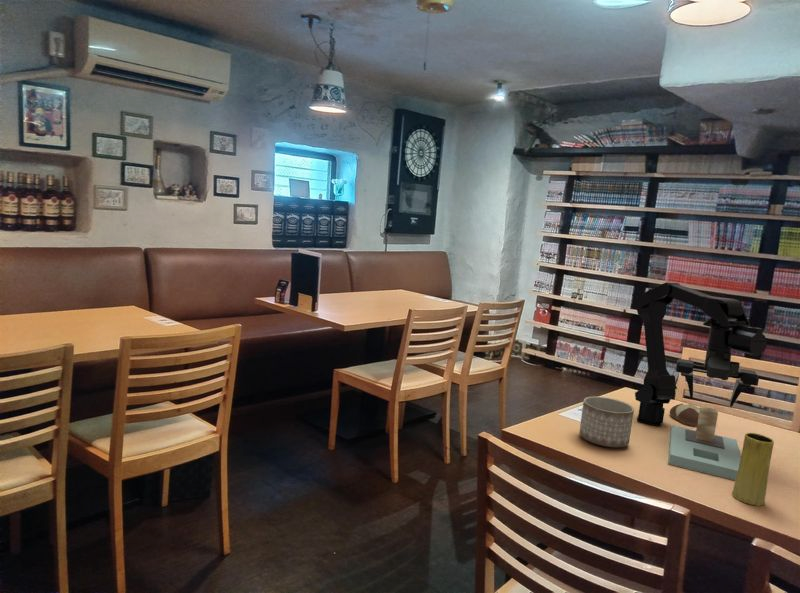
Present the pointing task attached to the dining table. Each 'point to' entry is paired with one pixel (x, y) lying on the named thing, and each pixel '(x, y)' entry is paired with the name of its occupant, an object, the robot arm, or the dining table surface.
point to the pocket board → (704, 453)
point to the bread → (686, 414)
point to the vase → (753, 469)
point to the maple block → (706, 424)
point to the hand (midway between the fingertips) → (710, 402)
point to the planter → (606, 421)
